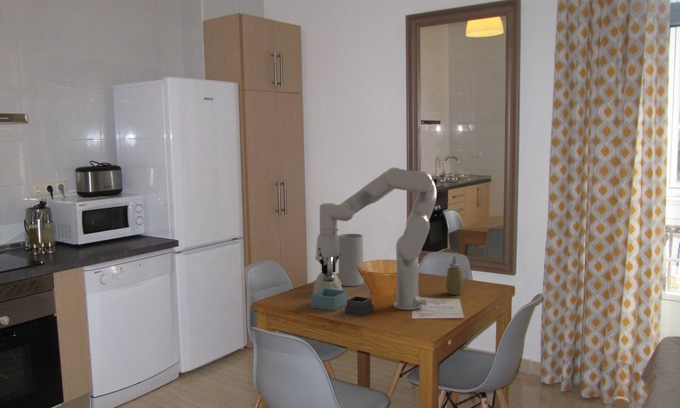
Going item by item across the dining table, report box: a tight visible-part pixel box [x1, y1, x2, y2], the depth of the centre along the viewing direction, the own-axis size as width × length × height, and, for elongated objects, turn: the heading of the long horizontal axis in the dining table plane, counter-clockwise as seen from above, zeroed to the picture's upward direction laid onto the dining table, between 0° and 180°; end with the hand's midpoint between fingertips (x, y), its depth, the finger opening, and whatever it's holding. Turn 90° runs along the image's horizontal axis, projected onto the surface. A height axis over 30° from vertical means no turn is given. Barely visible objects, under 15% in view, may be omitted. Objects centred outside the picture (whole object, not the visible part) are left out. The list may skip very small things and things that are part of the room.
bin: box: [310, 288, 349, 312], centre depth 249 cm, size 12×12×6 cm
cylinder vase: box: [338, 233, 364, 287], centre depth 286 cm, size 12×12×25 cm
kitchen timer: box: [312, 271, 343, 294], centre depth 268 cm, size 14×14×15 cm
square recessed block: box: [344, 295, 375, 317], centre depth 239 cm, size 9×9×6 cm
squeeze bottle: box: [445, 255, 464, 296], centre depth 265 cm, size 8×8×18 cm
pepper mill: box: [323, 254, 334, 282], centre depth 247 cm, size 5×5×13 cm
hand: (328, 272), depth 247 cm, fingers closed on pepper mill, 4 cm apart
